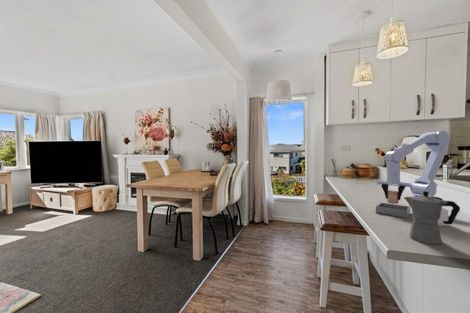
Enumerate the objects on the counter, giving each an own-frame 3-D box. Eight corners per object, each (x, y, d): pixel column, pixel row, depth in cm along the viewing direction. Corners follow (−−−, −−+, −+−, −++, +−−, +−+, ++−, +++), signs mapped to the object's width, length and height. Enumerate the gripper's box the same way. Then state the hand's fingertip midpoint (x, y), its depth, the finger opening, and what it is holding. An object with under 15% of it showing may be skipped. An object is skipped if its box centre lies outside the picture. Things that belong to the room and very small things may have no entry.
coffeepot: (399, 236, 82) (399, 190, 81) (407, 231, 87) (408, 187, 87) (456, 252, 69) (457, 197, 69) (462, 244, 74) (462, 193, 74)
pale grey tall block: (448, 226, 93) (448, 199, 93) (429, 225, 94) (429, 198, 94) (436, 221, 100) (436, 195, 100) (419, 220, 101) (419, 195, 101)
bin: (410, 213, 113) (410, 206, 112) (406, 218, 104) (406, 211, 104) (380, 208, 122) (380, 202, 122) (375, 212, 113) (375, 206, 113)
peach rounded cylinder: (398, 202, 113) (399, 191, 113) (397, 204, 109) (397, 192, 109) (388, 201, 116) (388, 190, 116) (386, 202, 113) (386, 191, 113)
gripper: (375, 173, 115) (375, 198, 115) (409, 175, 105) (409, 202, 105) (378, 172, 120) (378, 196, 120) (411, 174, 109) (411, 200, 110)
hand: (392, 199), depth 113 cm, fingers closed on peach rounded cylinder, 5 cm apart
